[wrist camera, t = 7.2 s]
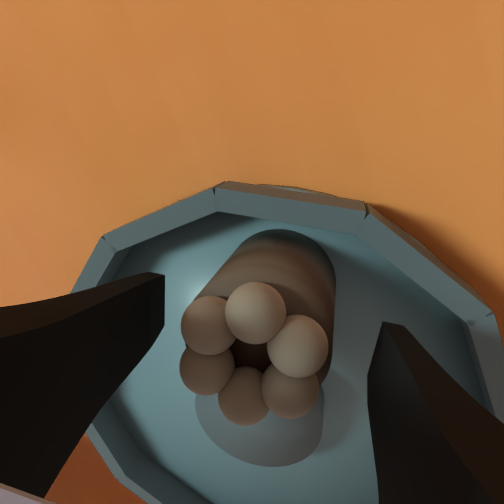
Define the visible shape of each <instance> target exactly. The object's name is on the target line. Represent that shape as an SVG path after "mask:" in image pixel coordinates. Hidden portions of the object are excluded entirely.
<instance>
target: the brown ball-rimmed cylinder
mask: <svg viewBox="0 0 504 504" xmlns="http://www.w3.org/2000/svg"><path fill="white" fill-rule="evenodd" d="M335 296H336V276H335V271H334V267H333V264H332V262H331V260H330V258H329V257H328V255H327V254H326V252H325V251H324V250H323V249H322V248H321V247H320V246H319V245H318V244H317V243H316V242H315V241H313V240H312V239H310V238H309V237H307V236H305V235H303V234H301V233H298V232H296V231H291V230H286V229H270V230H264V231H261V232H258V233H256V234H254V235H252V236H250V237H248V238H247V239H246V240H245V241H243V242H242V243H241V244H240V245H239V246H238V248H237V249H236V250H235V251H234V252H233V254H232V255H231V256H230V257H229V258H228V259H227V261H226V262H225V263H224V264H223V265H222V267H221V268H220V269H219V270H218V271H217V272H216V274H215V275H214V276H213V277H212V278H211V280H210V281H209V282H208V283H207V284H206V286H205V287H204V288H203V289H202V290H201V291H200V293H199V294H198V295H197V296H196V297H195V299H194V300H193V302H192V303H191V304H190V305H189V306H188V307H187V308H186V310H185V311H184V313H183V316H182V319H181V334H182V337H183V339H184V341H185V345H186V349H185V351H184V352H183V354H182V356H181V359H180V364H179V372H180V376H181V379H182V381H183V383H184V384H185V386H186V387H187V388H188V389H189V390H190V391H192V392H194V393H196V394H198V395H204V396H209V395H214V394H216V393H218V404H219V407H220V409H221V411H222V413H223V415H224V416H225V417H226V418H227V419H228V420H229V421H231V422H232V423H234V424H237V425H241V426H249V425H253V424H256V423H258V422H259V421H261V420H262V419H263V418H264V417H265V416H266V415H267V413H268V412H269V410H271V411H272V412H273V413H274V414H276V415H278V416H280V417H282V418H286V419H296V418H300V417H302V416H304V415H306V414H307V413H309V412H310V411H311V410H312V409H313V407H314V406H315V404H316V402H317V399H318V395H319V386H320V385H321V384H322V382H323V381H324V380H325V378H326V376H327V374H328V372H329V369H330V366H331V361H332V351H333V333H334V315H335Z"/></svg>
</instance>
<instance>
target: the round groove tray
mask: <svg viewBox="0 0 504 504" xmlns="http://www.w3.org/2000/svg"><path fill="white" fill-rule="evenodd" d="M270 229H286V230H291V231H296V232H298V233H301V234H303V235H305V236H307V237H309V238H310V239H312V240H313V241H315V242H316V243H317V244H318V245H319V246H320V247H321V248H322V249H323V250H324V251H325V252H326V254H327V255H328V257H329V258H330V260H331V262H332V264H333V267H334V271H335V276H336V296H335V315H334V333H333V351H332V361H331V366H330V369H329V372H328V374H327V376H326V378H325V380H324V381H323V382H322V384H321V385H320V386H319V395H318V399H317V402H316V404H315V406H314V407H313V409H312V410H311V411H310V412H309V413H307V414H306V415H304V416H302V417H300V418H296V419H286V418H282V417H280V416H278V415H276V414H274V413H273V412H272V411H271V410H269V412H268V413H267V415H266V416H265V417H264V418H263V419H262V420H261V421H259V422H258V423H256V424H253V425H249V426H241V425H237V424H234V423H232V422H231V421H229V420H228V419H227V418H226V417H225V416H224V415H223V413H222V411H221V409H220V407H219V404H218V393H216V394H214V395H209V396H204V395H198V394H196V393H194V392H192V391H190V390H189V389H188V388H187V387H186V386H185V384H184V383H183V381H182V379H181V376H180V372H179V364H180V359H181V356H182V354H183V352H184V351H185V349H186V345H185V341H184V339H183V337H182V334H181V319H182V316H183V313H184V311H185V310H186V308H187V307H188V306H189V305H190V304H191V303H192V302H193V300H194V299H195V297H196V296H197V295H198V294H199V293H200V291H201V290H202V289H203V288H204V287H205V286H206V284H207V283H208V282H209V281H210V280H211V278H212V277H213V276H214V275H215V274H216V272H217V271H218V270H219V269H220V268H221V267H222V265H223V264H224V263H225V262H226V261H227V259H228V258H229V257H230V256H231V255H232V254H233V252H234V251H235V250H236V249H237V248H238V246H239V245H240V244H241V243H242V242H243V241H245V240H246V239H247V238H248V237H250V236H252V235H254V234H256V233H258V232H261V231H264V230H270ZM144 272H153V273H158V274H162V275H165V326H164V328H163V329H162V331H161V333H160V334H159V336H158V338H157V339H156V341H155V343H154V344H153V346H152V347H151V349H150V350H149V351H148V353H147V354H146V355H145V356H144V357H143V359H142V360H141V361H140V362H139V364H138V365H137V366H136V367H135V368H134V370H133V371H132V372H131V373H130V374H129V375H128V377H127V378H126V379H125V380H124V381H123V383H122V384H121V385H120V386H119V387H118V389H117V390H116V391H115V392H114V393H113V394H112V396H111V397H110V398H109V399H108V401H107V402H106V403H105V404H104V406H103V407H102V408H101V410H100V411H99V412H98V414H97V415H96V417H95V418H94V420H93V421H92V423H91V424H90V426H89V427H88V429H87V430H86V432H85V433H86V434H87V436H88V437H89V439H90V440H91V442H92V443H93V445H94V447H95V448H96V450H97V451H98V453H99V454H100V456H101V457H102V459H103V460H104V462H105V463H106V465H107V466H108V468H109V470H110V471H111V473H112V474H113V476H114V477H115V479H118V482H120V483H121V484H122V485H124V486H125V487H126V488H128V489H129V490H130V491H132V492H133V493H134V494H136V495H137V496H138V497H139V498H141V499H142V500H143V501H145V502H146V503H147V504H379V496H378V484H377V474H376V467H375V459H374V452H373V445H372V437H371V430H370V422H369V414H368V406H367V374H368V370H369V367H370V363H371V360H372V356H373V353H374V349H375V346H376V342H377V339H378V335H379V332H380V328H381V325H382V321H385V322H389V323H394V324H399V325H403V326H405V327H406V328H407V329H408V331H409V332H410V333H411V334H412V335H413V336H414V337H415V338H416V339H417V341H418V342H419V343H420V344H421V345H422V346H423V347H424V348H425V350H426V351H427V352H428V353H429V354H430V355H431V356H432V357H433V358H434V359H435V360H436V362H437V363H438V364H439V365H440V366H441V367H442V368H443V369H444V370H445V371H446V372H447V373H448V374H449V375H450V376H451V377H452V378H453V379H454V380H455V381H456V382H457V383H458V384H459V385H460V386H461V387H462V388H463V389H464V390H465V391H466V392H467V393H468V394H469V395H471V396H472V397H473V398H474V399H475V400H476V401H477V402H478V403H480V404H481V405H482V406H483V407H484V408H485V409H487V410H488V411H489V412H490V413H491V414H493V415H494V416H495V417H496V418H497V419H499V420H500V421H501V422H502V423H503V424H504V347H503V343H502V340H501V336H500V332H499V329H498V325H497V322H496V318H495V314H494V313H493V312H492V310H491V309H490V308H489V306H488V305H487V304H486V302H485V301H484V300H483V298H482V297H481V296H480V295H479V293H478V292H477V291H476V290H475V289H474V288H473V287H471V286H470V285H469V284H468V283H466V282H465V281H464V280H463V279H461V278H460V277H459V276H458V275H456V274H455V273H454V272H453V271H451V270H450V269H449V268H448V267H446V266H445V265H444V264H443V263H442V262H441V261H440V260H439V259H438V258H437V257H436V256H435V255H434V254H433V253H431V252H430V251H429V250H428V249H427V248H426V247H425V246H424V245H423V244H422V243H421V242H420V241H418V240H417V239H416V238H414V237H413V236H412V235H410V234H409V233H407V232H406V231H404V230H403V229H401V228H400V227H399V226H397V225H396V224H394V223H393V222H391V221H390V220H388V219H387V218H385V217H384V216H383V215H382V214H380V213H379V212H378V211H377V210H375V209H374V208H373V207H372V206H370V205H369V204H368V203H367V204H366V205H364V201H358V200H351V199H345V198H339V197H336V196H333V195H330V194H327V193H322V192H317V191H313V190H308V189H304V188H299V187H292V186H280V185H268V184H259V185H253V184H246V183H240V182H233V181H227V182H225V181H224V182H222V183H220V184H217V185H215V186H213V187H210V188H208V189H206V190H204V191H201V192H199V193H197V194H194V195H192V196H190V197H187V198H185V199H182V200H179V201H177V202H175V203H173V204H171V205H169V206H167V207H164V208H162V209H160V210H157V211H155V212H153V213H150V214H148V215H146V216H143V217H141V218H139V219H136V220H134V221H132V222H130V223H127V224H125V225H123V226H121V227H119V228H117V229H114V230H112V231H110V232H108V233H106V234H104V235H103V236H102V237H101V238H100V239H99V241H98V243H97V245H96V247H95V249H94V250H93V252H92V254H91V256H90V258H89V260H88V262H87V263H86V265H85V267H84V269H83V271H82V273H81V274H80V276H79V278H78V280H77V282H76V284H75V285H74V287H73V289H72V291H71V293H75V292H78V291H82V290H86V289H89V288H93V287H96V286H100V285H103V284H106V283H109V282H113V281H116V280H119V279H122V278H126V277H129V276H132V275H136V274H140V273H144ZM71 293H70V294H71Z"/></svg>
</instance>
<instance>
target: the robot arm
mask: <svg viewBox="0 0 504 504" xmlns="http://www.w3.org/2000/svg"><path fill="white" fill-rule="evenodd" d="M164 326H165V275H162V274H158V273H153V272H144V273H140V274H136V275H132V276H129V277H126V278H122V279H119V280H116V281H113V282H109V283H106V284H103V285H100V286H96V287H93V288H89V289H86V290H82V291H78V292H75V293H71V294H68V295H64V296H60V297H56V298H51V299H47V300H42V301H37V302H31V303H26V304H20V305H13V306H6V307H0V504H57V503H54V502H51V501H48V500H46V499H44V497H45V495H46V494H47V492H48V490H49V489H50V487H51V485H52V484H53V482H54V480H55V479H56V477H57V475H58V474H59V472H60V470H61V469H62V467H63V466H64V464H65V462H66V461H67V459H68V458H69V456H70V455H71V453H72V451H73V450H74V448H75V447H76V445H77V444H78V442H79V441H80V439H81V437H82V436H83V434H84V433H85V432H86V430H87V429H88V427H89V426H90V424H91V423H92V421H93V420H94V418H95V417H96V415H97V414H98V412H99V411H100V410H101V408H102V407H103V406H104V404H105V403H106V402H107V401H108V399H109V398H110V397H111V396H112V394H113V393H114V392H115V391H116V390H117V389H118V387H119V386H120V385H121V384H122V383H123V381H124V380H125V379H126V378H127V377H128V375H129V374H130V373H131V372H132V371H133V370H134V368H135V367H136V366H137V365H138V364H139V362H140V361H141V360H142V359H143V357H144V356H145V355H146V354H147V353H148V351H149V350H150V349H151V347H152V346H153V344H154V343H155V341H156V339H157V338H158V336H159V334H160V333H161V331H162V329H163V328H164ZM367 406H368V414H369V422H370V430H371V437H372V445H373V452H374V459H375V467H376V474H377V484H378V496H379V504H504V424H503V423H502V422H501V421H500V420H499V419H497V418H496V417H495V416H494V415H493V414H491V413H490V412H489V411H488V410H487V409H485V408H484V407H483V406H482V405H481V404H480V403H478V402H477V401H476V400H475V399H474V398H473V397H472V396H471V395H469V394H468V393H467V392H466V391H465V390H464V389H463V388H462V387H461V386H460V385H459V384H458V383H457V382H456V381H455V380H454V379H453V378H452V377H451V376H450V375H449V374H448V373H447V372H446V371H445V370H444V369H443V368H442V367H441V366H440V365H439V364H438V363H437V362H436V360H435V359H434V358H433V357H432V356H431V355H430V354H429V353H428V352H427V351H426V350H425V348H424V347H423V346H422V345H421V344H420V343H419V342H418V341H417V339H416V338H415V337H414V336H413V335H412V334H411V333H410V332H409V331H408V329H407V328H406V327H405V326H403V325H399V324H394V323H389V322H385V321H382V325H381V328H380V332H379V335H378V339H377V342H376V346H375V349H374V353H373V356H372V360H371V363H370V367H369V370H368V374H367Z"/></svg>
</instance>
